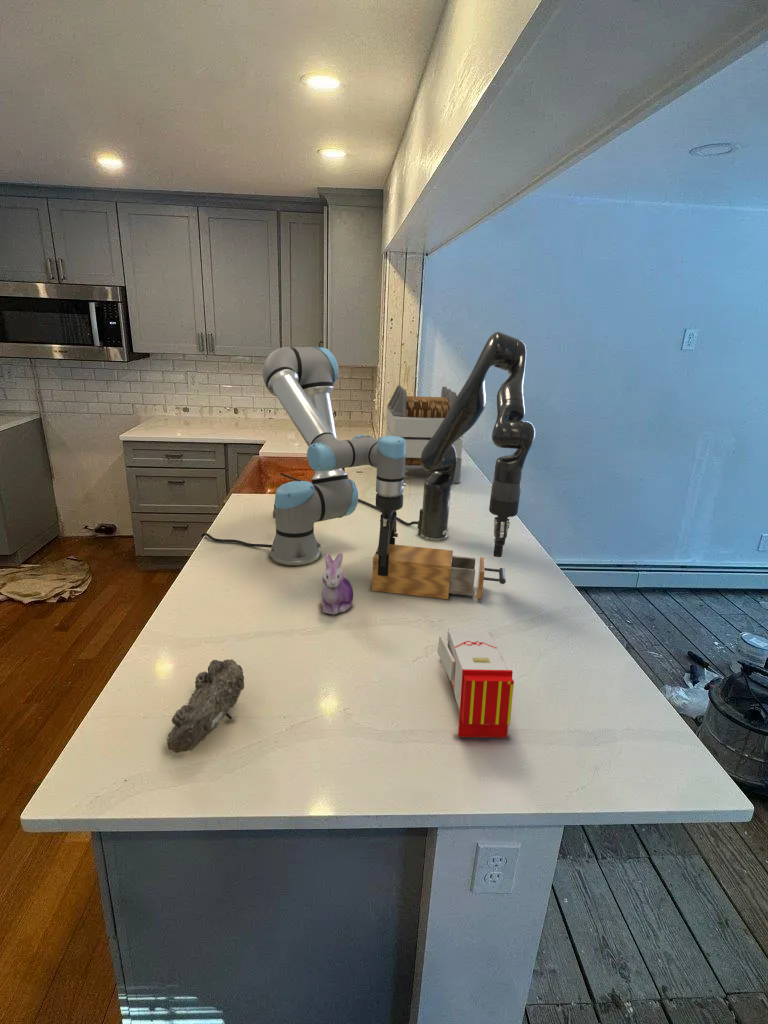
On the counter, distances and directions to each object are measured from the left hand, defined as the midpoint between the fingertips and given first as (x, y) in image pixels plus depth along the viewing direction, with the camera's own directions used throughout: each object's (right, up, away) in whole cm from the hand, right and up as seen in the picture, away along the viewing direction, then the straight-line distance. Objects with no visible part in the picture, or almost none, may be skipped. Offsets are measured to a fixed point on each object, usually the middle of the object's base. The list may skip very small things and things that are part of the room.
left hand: (386, 566), depth 162 cm
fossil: (-33, -24, -54) cm, 68 cm away
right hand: (+30, +4, -7) cm, 31 cm away
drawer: (+20, -6, -1) cm, 21 cm away
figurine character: (-37, +13, +47) cm, 62 cm away
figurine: (-13, -10, -12) cm, 20 cm away
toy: (+17, -22, -43) cm, 52 cm away
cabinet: (+7, -6, +1) cm, 9 cm away
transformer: (+17, +34, +113) cm, 119 cm away
